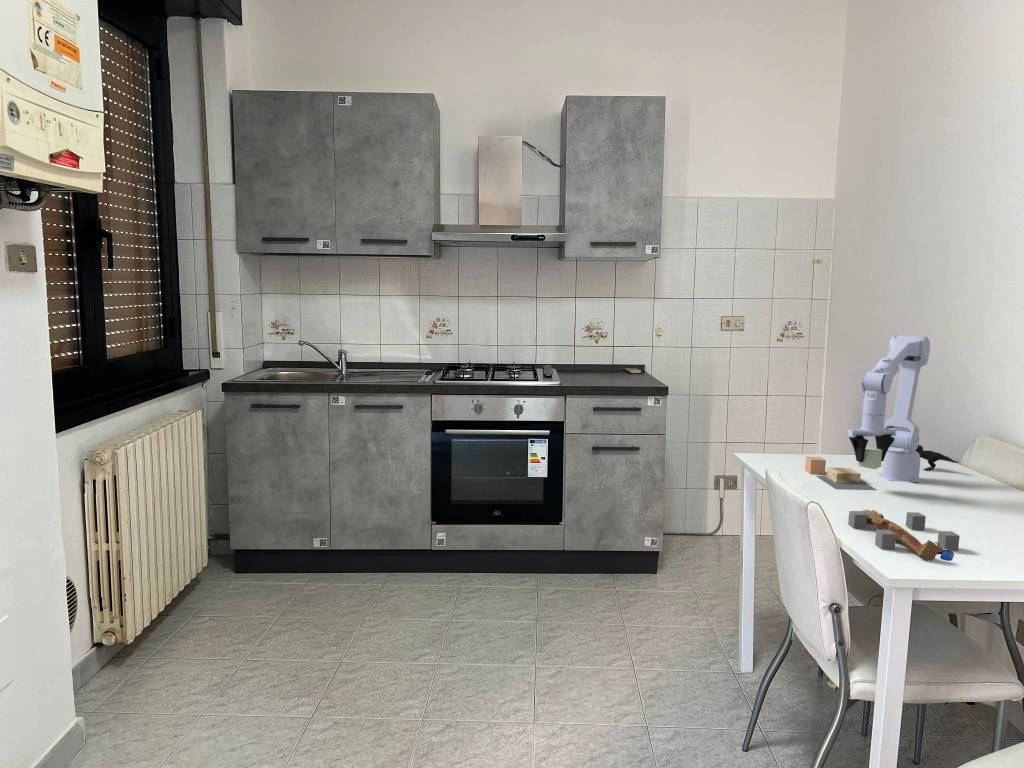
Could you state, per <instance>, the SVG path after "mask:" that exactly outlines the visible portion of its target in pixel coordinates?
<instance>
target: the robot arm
mask: <svg viewBox="0 0 1024 768" xmlns="http://www.w3.org/2000/svg"><path fill="white" fill-rule="evenodd" d="M888 344H889V347H888V348H889V349H888V350H889V352H888V354H887V356H886V357H883V358H881V359H880V360H879V361H878V363H877V364H875V366H874V367H873V368H872V370H871V371H867V372H864V374H863V375H862V379H861V382H860V383H861V390H862V394H861V395H862V398H863V405H862V406H863V407H862V417H861V418H862V419H861V426H860V427H859V428H857V427H856V428H853V429H852V428H851V429H847V436H848V438H849V441H850V442H851V445H852V448H853V450H854V454H855V455H854V456H855V461H856V462H858V463H859V462H863V461H864V454H865V448H866V447H867V445H868V443H869V439H865V437H874V438H875V445H876V449H881V450H882V460H881V462H883V467H882V473H877V474H876V475H877V476H879V477H880V478H882V479H884V480H887V481H889V482H909V483H920V482H921V480H920V469H921V458H920V456H919V453H918V452H916V451H915V450H916V449H917V447H918V445H920V428H919V426H918V425H917V424H916V423H915V422H914V421H912V415H913V410H914V403H915V399H916V394H917V386H918V382H919V377H920V373H921V370H922V367H924V366H927V364H928V361H929V356H930V352H931V341H930V338H929V337H928V336H926V335H925V336H918V335H917V336H916V335H915V336H914V335H913V336H912V335H898V334H894V335H893V336H892V337H890V340H889V343H888ZM900 366H901V374H900V377H899V384H898V390H897V395H896V400H895V406H894V410H893V411H894V412H893V416H892V418H889V419H888V420H886V421H885V419H886V406H887V395H888V393H890V391H891V388H892V385H893V382H894V381H893V379H894V377H895V376H896V375H897V374H898V373H899V371H900Z"/></svg>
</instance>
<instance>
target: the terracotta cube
mask: <svg viewBox="0 0 1024 768" xmlns="http://www.w3.org/2000/svg"><path fill="white" fill-rule="evenodd" d="M804 462H805V463H804V471H805V472H806V473H808V474H809V475H825V474H826V466H827V465H826V464H827V463H826V462H827V460H826V459H825V458H823V457H821V456H805V461H804Z"/></svg>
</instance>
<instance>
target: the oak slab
mask: <svg viewBox="0 0 1024 768" xmlns="http://www.w3.org/2000/svg"><path fill="white" fill-rule="evenodd" d="M861 475H862V473H861V472H859V471H856V470H855V469H854V468H851V467H827V468H826V476H827V477H828V478H829V479H831V480H832V481H834V482H835V483H860V480H861Z"/></svg>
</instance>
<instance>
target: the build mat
mask: <svg viewBox="0 0 1024 768" xmlns="http://www.w3.org/2000/svg"><path fill="white" fill-rule="evenodd" d="M815 477H817V478H818V479H819V480H821V481H822V482H823V483H826V484H827V485H828V486H830V487H831V488H833V489H835V490H847V491H848V490H849V491H851V490H855V491H858V490H859V491H878V489H876V488H875V487H873V486H871V485H870V484H868V483H867V482H865V481H863V480H861V479H860V483H835V482H834V481H832V480H831V479H829V478H828V477H827V475H815Z"/></svg>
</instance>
